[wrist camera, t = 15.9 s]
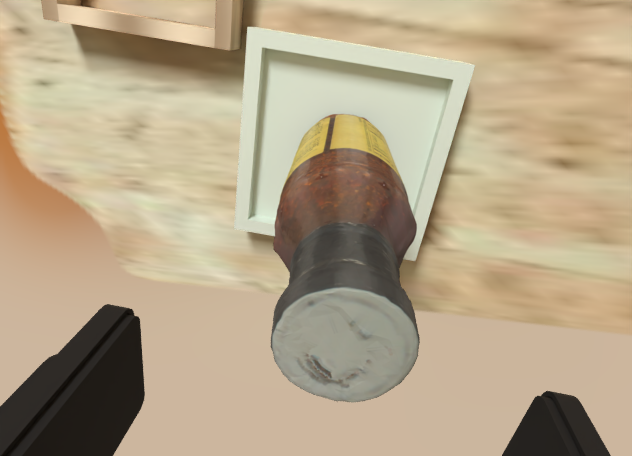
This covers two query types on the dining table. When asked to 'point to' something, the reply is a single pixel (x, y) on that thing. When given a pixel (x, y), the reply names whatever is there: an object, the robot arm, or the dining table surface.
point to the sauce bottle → (344, 265)
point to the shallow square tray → (342, 98)
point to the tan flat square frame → (155, 23)
